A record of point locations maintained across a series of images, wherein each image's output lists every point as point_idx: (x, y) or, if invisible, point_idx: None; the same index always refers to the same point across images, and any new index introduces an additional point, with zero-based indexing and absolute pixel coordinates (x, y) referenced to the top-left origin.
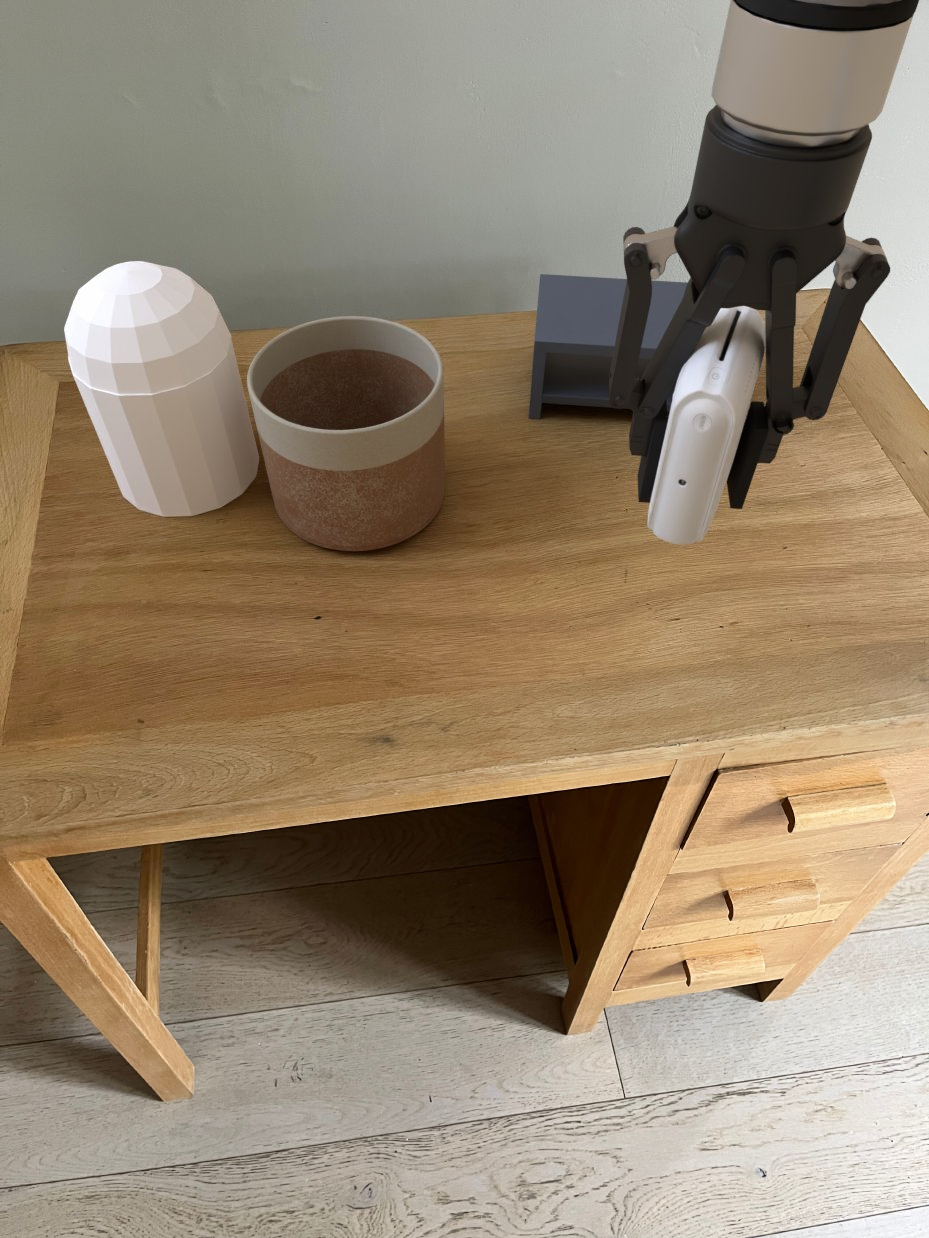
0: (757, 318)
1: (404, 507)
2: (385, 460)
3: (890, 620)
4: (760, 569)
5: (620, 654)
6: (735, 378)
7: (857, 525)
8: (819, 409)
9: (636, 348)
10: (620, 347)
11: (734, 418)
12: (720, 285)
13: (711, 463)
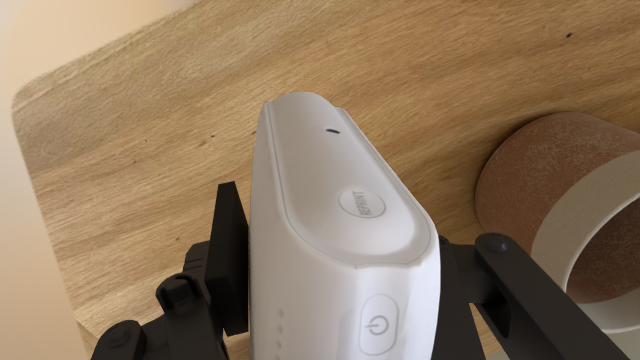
0: None
1: (527, 158)
2: (591, 177)
3: (62, 191)
4: (192, 210)
5: (297, 76)
6: (321, 337)
7: (121, 281)
8: (110, 343)
9: (568, 347)
10: (603, 338)
11: (289, 229)
12: None
13: (297, 158)
